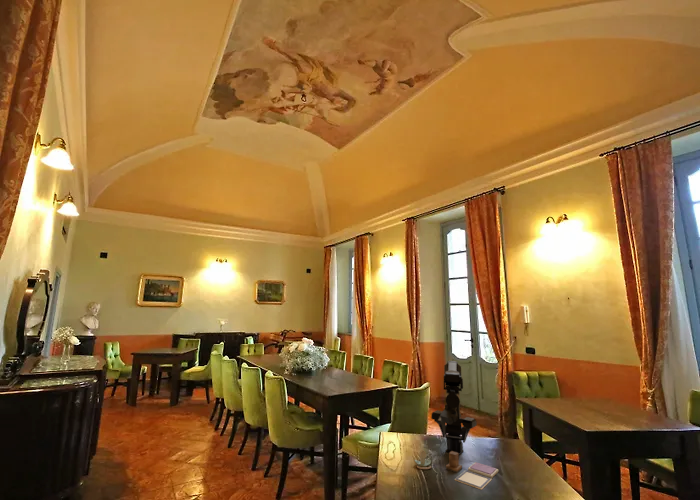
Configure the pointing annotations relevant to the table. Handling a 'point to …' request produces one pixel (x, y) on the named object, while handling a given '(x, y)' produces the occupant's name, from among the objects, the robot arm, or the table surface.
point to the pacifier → (423, 461)
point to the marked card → (473, 479)
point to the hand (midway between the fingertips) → (453, 439)
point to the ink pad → (483, 469)
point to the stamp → (454, 462)
